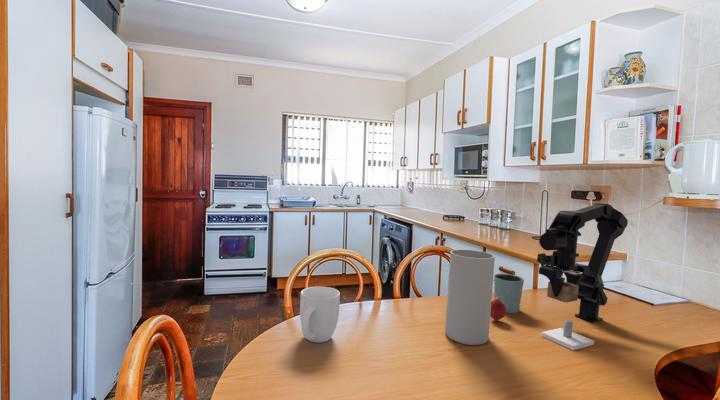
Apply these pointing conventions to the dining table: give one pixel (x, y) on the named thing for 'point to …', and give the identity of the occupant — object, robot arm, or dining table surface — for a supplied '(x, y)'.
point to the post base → (567, 337)
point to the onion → (497, 309)
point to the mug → (319, 313)
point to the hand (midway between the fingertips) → (562, 295)
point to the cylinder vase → (469, 296)
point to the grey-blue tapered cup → (508, 291)
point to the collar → (564, 292)
